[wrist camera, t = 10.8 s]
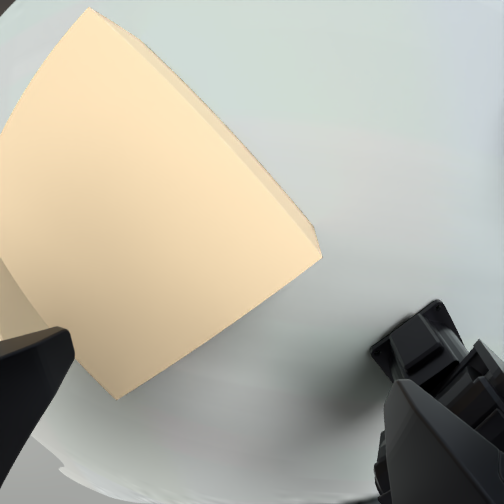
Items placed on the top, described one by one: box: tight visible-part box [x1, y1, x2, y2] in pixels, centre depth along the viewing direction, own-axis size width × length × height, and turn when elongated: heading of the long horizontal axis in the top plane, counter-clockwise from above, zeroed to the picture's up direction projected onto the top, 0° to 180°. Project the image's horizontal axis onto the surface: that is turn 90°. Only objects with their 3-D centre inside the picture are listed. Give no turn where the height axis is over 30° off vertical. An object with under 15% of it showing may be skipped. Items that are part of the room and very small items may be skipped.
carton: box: [0, 7, 322, 400], centre depth 17 cm, size 18×16×6 cm
